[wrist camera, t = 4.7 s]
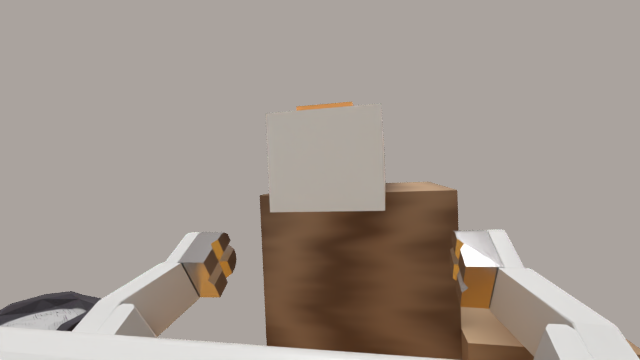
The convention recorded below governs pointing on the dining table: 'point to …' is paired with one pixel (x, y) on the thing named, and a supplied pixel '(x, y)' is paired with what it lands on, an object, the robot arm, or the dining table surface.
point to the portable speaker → (48, 311)
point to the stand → (376, 281)
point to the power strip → (326, 158)
